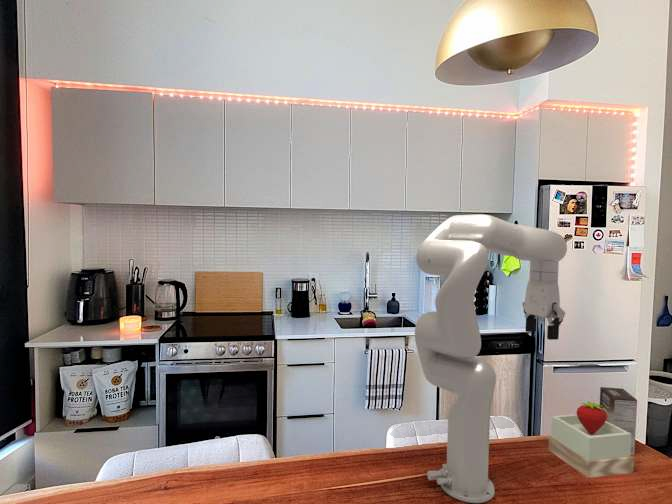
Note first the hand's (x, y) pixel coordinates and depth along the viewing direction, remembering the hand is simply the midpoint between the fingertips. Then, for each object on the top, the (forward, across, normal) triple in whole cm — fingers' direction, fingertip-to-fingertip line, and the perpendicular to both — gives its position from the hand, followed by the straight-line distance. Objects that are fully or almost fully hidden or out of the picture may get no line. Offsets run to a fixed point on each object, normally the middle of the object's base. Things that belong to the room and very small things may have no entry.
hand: (541, 335), depth 120 cm
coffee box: (+32, +5, +22) cm, 39 cm away
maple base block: (+33, +11, +8) cm, 35 cm away
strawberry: (+25, +11, +8) cm, 28 cm away
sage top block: (+28, +11, +8) cm, 31 cm away
